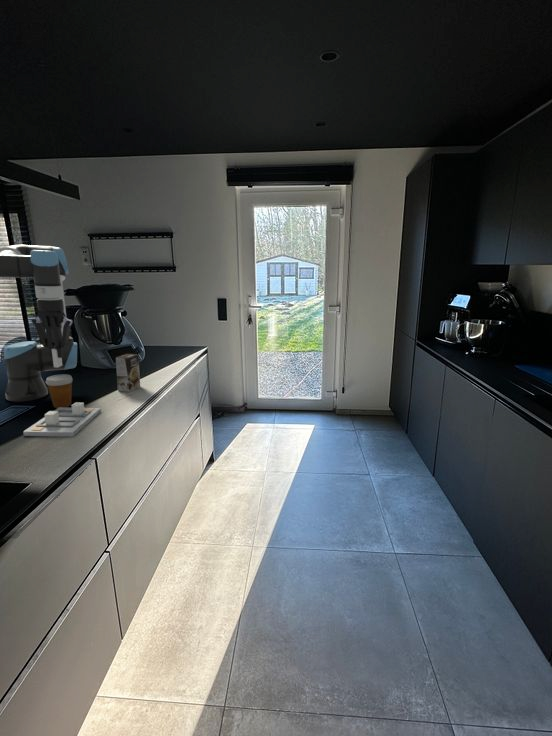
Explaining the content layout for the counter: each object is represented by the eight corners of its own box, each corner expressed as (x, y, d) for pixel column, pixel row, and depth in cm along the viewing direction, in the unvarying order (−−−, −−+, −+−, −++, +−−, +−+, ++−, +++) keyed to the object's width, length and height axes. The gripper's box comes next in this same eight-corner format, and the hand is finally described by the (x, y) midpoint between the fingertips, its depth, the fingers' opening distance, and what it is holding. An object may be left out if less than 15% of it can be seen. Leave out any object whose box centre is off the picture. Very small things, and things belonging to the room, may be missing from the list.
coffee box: (129, 392, 164) (127, 358, 160) (117, 390, 165) (114, 357, 161) (141, 386, 173) (138, 354, 169) (129, 385, 174) (126, 353, 170)
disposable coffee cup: (56, 411, 140) (52, 382, 137) (44, 406, 144) (40, 377, 141) (80, 404, 148) (77, 376, 144) (67, 399, 152) (64, 372, 149)
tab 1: (45, 425, 124) (44, 414, 123) (50, 421, 127) (49, 411, 126) (54, 425, 124) (53, 414, 123) (59, 421, 127) (58, 411, 126)
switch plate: (23, 435, 119) (22, 430, 119) (59, 410, 140) (58, 406, 140) (72, 436, 120) (72, 431, 119) (100, 411, 141) (100, 406, 141)
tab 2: (72, 415, 133) (71, 405, 132) (76, 412, 136) (75, 402, 134) (80, 415, 133) (79, 405, 132) (84, 412, 136) (83, 402, 135)
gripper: (22, 298, 115) (32, 368, 122) (63, 300, 115) (71, 370, 122) (36, 296, 122) (45, 362, 129) (75, 298, 123) (82, 364, 129)
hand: (58, 366), depth 125 cm, fingers closed
